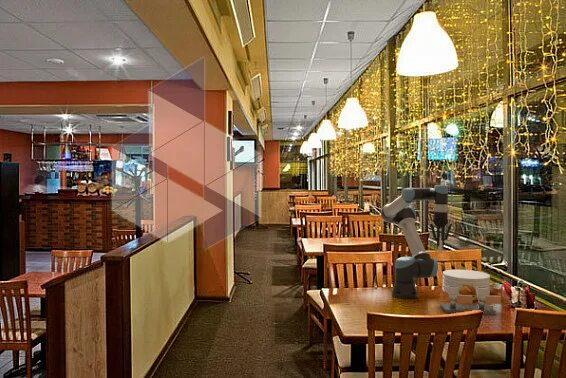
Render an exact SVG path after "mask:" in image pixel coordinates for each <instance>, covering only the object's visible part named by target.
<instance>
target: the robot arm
mask: <svg viewBox="0 0 566 378" xmlns="http://www.w3.org/2000/svg"><path fill="white" fill-rule="evenodd" d="M416 201H418V202H419V201H433V203H434V204H433V210H434V212H433V220H432V222H429V223H428V225H429V227H430V229H431V230H430V231H431V233H432V234H431V235H432V239H433V240H435V241H436V247H438V250H437V251H438V253H443V247H444V245H445V241H447V240H448V238H449V235H450V232H451V228H452V226H453V224H452V223H451V222H449V220H448V218H449V215H448V213H449V212H448V209H449V206H448V203H449V187H448V185H447V184H436V185H434V188H433V187H406V188H403V189H402V191H401V194H400V195H399V196H398V197H397V198H395V199H394V200H393V201H392V202H391V203H386V204H385V205H384V206H383V207H382V208H381V210H380V216H381V218H382V220H383V221H384V222H386V223H389V224H397V226H398V228H399V229H401V230H402V233H403V235H404V237H405V240H406V242H407V245H408V249H409V250H410V253H411V256H401V257H397V259H395V261H394V262H395V263H394V285H393V287H392V289H391V296H392V297H395V298H398V299H405V300H406V299H416V298H417V297H418V291H417V288H416V284H415V280H416V279H430V278H434V277H435V276H437V274H438V271H439V263H438V260H437V259H436V258H435V257H434V258H433V257H431V254H430V253H428V252H427V251H426V249H425V246H424V244H423V242H422V239H421V237H420V234H419V232H418V230H417V227H416V226H415V223H416V221H417V213H416V210H415V208H414V207H413V206H411V204H412V203H414V202H416ZM434 226H435V227H436V231H435V227H434ZM445 228H446V229H445ZM445 230H446V231H445Z"/></svg>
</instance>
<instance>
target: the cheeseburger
mask: <svg viewBox="0 0 566 378" xmlns="http://www.w3.org/2000/svg"><path fill="white" fill-rule="evenodd" d="M459 293H460V295H472V296H473V302H475V301H477V293H476V290H475V288H474V287H473V286H472V285H463V286H462V287H461V289H460V291H459Z"/></svg>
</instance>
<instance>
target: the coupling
mask: <svg viewBox="0 0 566 378" xmlns="http://www.w3.org/2000/svg"><path fill="white" fill-rule="evenodd" d="M448 293H449V294H448ZM448 293H447V294H448V300H450V299H451V300H456V304H473V302H474V301H473V296H472V295H457V294H458V287H457V286H448Z"/></svg>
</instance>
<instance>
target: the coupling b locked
mask: <svg viewBox="0 0 566 378" xmlns="http://www.w3.org/2000/svg"><path fill="white" fill-rule="evenodd" d="M476 293H477V300H481V301H484V305H488V304H491V305H492V304H493V305H501V304H502V296H501V295H487V288H485V287H476ZM477 300H476V301H477Z"/></svg>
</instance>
